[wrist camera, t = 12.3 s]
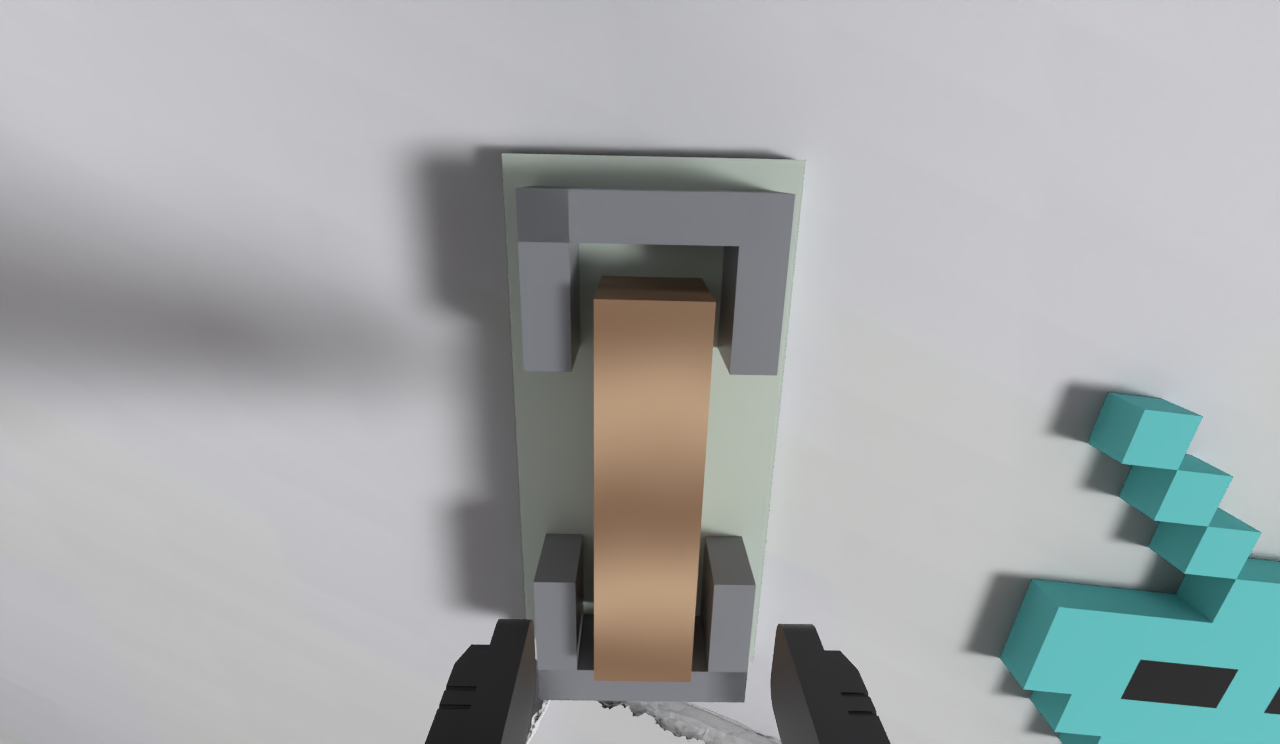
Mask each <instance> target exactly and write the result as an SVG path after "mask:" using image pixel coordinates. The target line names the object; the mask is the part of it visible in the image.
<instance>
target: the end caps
mask: <svg viewBox="0 0 1280 744" xmlns="http://www.w3.org/2000/svg"><path fill="white" fill-rule="evenodd" d="M794 203H795V194H791V193H784V192H777V191H752V190H704V189H657V188H609V187H562V186H529V187H521V188H516V210H517V232H518V254H519V276H520V297H521V319H522V341H523V363H524V371H552V372H572V369H573V366H574V363H575V360H576V357H577V354H578V351H579V348H580V282H579V243H603V244H653V245H702V246H724V257H723V273H722V288H721V303H720V319H719V334H718V350H719V352H720V354H721V356H722V359H723V361H724V363H725V365H726V367H727V370H728V372H729V374H730V375H774V376H777V372H778V362H779V352H780V342H781V332H782V322H783V312H784V302H785V292H786V282H787V272H788V262H789V252H790V242H791V233H792V223H793V213H794ZM755 590H756V584H755V580H754V577H753V573H752V570H751V566H750V563H749V559H748V556H747V552H746V549H745V545H744V542H743V538H742V537H739V536H705V549H704V564H703V580H702V595H701V610H700V616H695V624H694V639H693V654H692V669H691V682H645V681H594V614H584V591H583V534H546V535H545V539H544V543H543V547H542V551H541V555H540V559H539V563H538V566H537V570H536V574H535V578H534V604H535V626H536V648H537V670H538V691H539V700H593V701H673V702H744V699H745V689H746V680H747V670H748V660H749V650H750V640H751V630H752V620H753V610H754V600H755Z"/></svg>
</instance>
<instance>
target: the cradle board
mask: <svg viewBox="0 0 1280 744" xmlns="http://www.w3.org/2000/svg"><path fill="white" fill-rule="evenodd" d="M805 162H806V160H790V159H744V158H698V157H651V156H605V155H558V154H512V153H502V172H503V192H504V211H505V230H506V249H507V268H508V288H509V307H510V326H511V345H512V364H513V384H514V403H515V422H516V441H517V461H518V480H519V499H520V518H521V537H522V557H523V576H524V595H525V614H526V619H529V620H533V623H534V638H535V659H537V648H536V626H535V604H534V578H535V574H536V570H537V566H538V563H539V559H540V555H541V551H542V547H543V543H544V539H545V535H546V534H583V591H584V614H594V297H595V294H596V291H597V288H598V285H599V282H600V280H601V277H602V276H631V277H673V278H702V280H703V281H704V283H705V285H706V286H707V288H708V289H709V291H710V293H711V294H712V296H713V298H714V299H715V301H716V310H715V325H714V340H713V355H712V370H711V385H710V400H709V415H708V430H707V445H706V460H705V475H704V490H703V505H702V519H701V534H700V549H699V564H698V579H697V594H696V609H695V616H700V610H701V595H702V580H703V564H704V549H705V536H739V537H742V538H743V542H744V545H745V549H746V552H747V556H748V559H749V563H750V566H751V570H752V573H753V577H754V580H755V584H756V590H755V600H754V610H753V620H752V630H751V640H750V650H749V660H748V662H753V661H754V652H755V642H756V632H757V623H758V613H759V604H760V594H761V584H762V575H763V565H764V556H765V546H766V536H767V527H768V517H769V508H770V498H771V488H772V479H773V469H774V460H775V450H776V440H777V431H778V421H779V412H780V402H781V392H782V383H783V373H784V364H785V354H786V345H787V335H788V325H789V316H790V306H791V297H792V287H793V277H794V268H795V258H796V249H797V239H798V229H799V220H800V210H801V201H802V191H803V181H804V172H805ZM529 186H562V187H609V188H657V189H704V190H752V191H777V192H784V193H791V194H795V203H794V213H793V223H792V233H791V242H790V252H789V262H788V272H787V282H786V292H785V302H784V312H783V322H782V332H781V342H780V352H779V362H778V372H777V376H774V375H730V374H729V372H728V370H727V367H726V365H725V363H724V361H723V359H722V356H721V354H720V352H719V350H718V334H719V319H720V303H721V288H722V273H723V257H724V246H702V245H653V244H603V243H579V282H580V348H579V351H578V354H577V357H576V360H575V363H574V366H573V369H572V372H552V371H524V363H523V341H522V319H521V297H520V276H519V254H518V232H517V210H516V188H521V187H529Z"/></svg>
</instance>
